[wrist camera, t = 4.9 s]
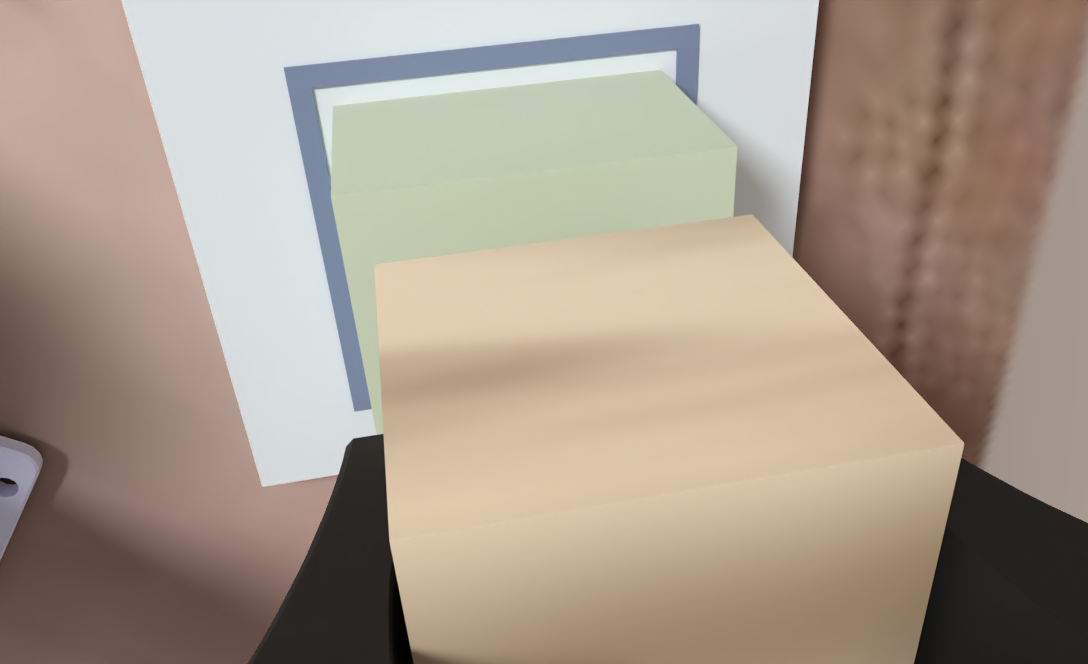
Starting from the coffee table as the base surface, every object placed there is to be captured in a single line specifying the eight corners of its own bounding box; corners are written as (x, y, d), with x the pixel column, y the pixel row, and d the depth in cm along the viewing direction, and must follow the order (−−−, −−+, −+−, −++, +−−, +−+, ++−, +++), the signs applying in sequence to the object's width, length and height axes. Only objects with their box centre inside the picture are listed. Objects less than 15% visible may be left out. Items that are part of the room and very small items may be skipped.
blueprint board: (764, 385, 23) (778, 406, 22) (264, 464, 21) (262, 490, 20) (861, -656, 13) (893, -682, 12) (-51, -649, 11) (-78, -676, 11)
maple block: (733, 498, 15) (886, 784, 11) (424, 552, 14) (455, 877, 10) (752, 214, 12) (964, 443, 8) (374, 264, 12) (388, 540, 7)
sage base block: (656, 340, 20) (718, 455, 17) (382, 381, 20) (391, 510, 16) (660, 69, 17) (737, 146, 14) (332, 105, 16) (330, 196, 13)
